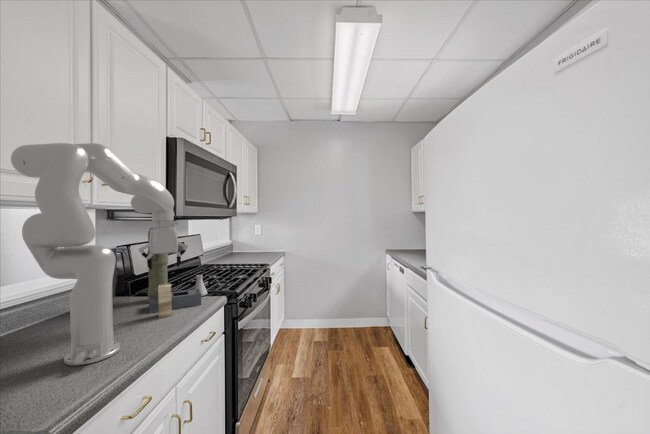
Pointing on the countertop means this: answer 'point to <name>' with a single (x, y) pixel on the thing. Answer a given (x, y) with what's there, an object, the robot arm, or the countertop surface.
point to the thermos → (157, 271)
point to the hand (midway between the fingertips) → (164, 267)
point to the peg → (164, 300)
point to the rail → (177, 300)
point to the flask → (200, 285)
